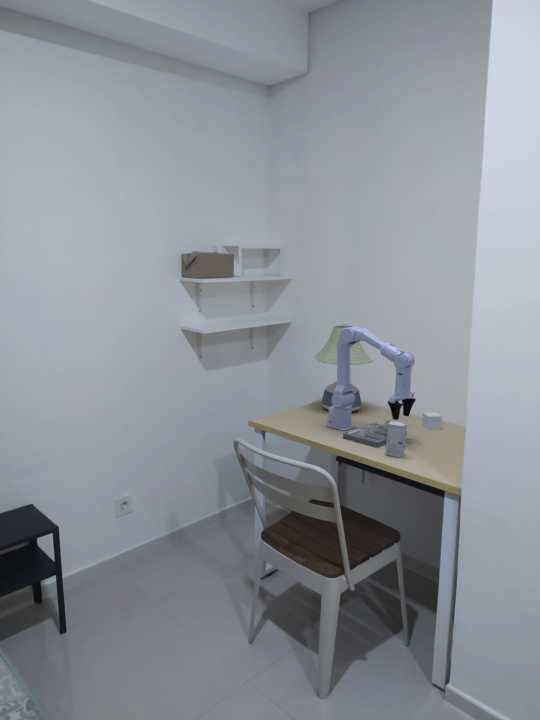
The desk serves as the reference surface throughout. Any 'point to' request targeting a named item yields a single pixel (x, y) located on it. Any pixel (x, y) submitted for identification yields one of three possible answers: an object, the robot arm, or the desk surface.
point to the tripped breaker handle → (387, 423)
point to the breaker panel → (369, 435)
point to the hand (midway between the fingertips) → (400, 417)
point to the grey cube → (432, 421)
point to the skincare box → (396, 439)
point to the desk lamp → (330, 356)
